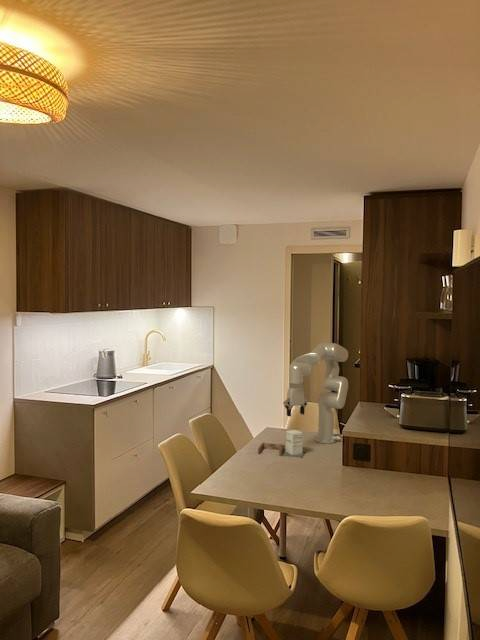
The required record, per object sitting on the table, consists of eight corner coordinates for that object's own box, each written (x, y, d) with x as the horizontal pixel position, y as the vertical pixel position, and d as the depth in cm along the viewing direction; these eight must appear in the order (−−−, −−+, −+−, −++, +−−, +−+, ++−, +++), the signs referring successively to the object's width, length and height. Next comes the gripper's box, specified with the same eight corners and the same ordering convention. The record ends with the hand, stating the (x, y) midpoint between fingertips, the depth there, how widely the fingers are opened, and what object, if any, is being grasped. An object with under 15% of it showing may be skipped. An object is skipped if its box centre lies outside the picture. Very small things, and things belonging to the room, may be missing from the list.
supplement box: (285, 452, 312) (285, 430, 311) (295, 450, 315) (296, 429, 314) (291, 455, 305) (292, 433, 304) (302, 454, 308) (303, 432, 308)
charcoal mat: (304, 452, 314) (304, 451, 314) (302, 457, 303) (302, 456, 303) (286, 450, 317) (286, 449, 317) (283, 455, 306) (283, 454, 306)
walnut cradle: (284, 449, 318) (284, 444, 318) (281, 456, 305) (281, 450, 305) (262, 447, 321) (262, 442, 321) (257, 453, 309) (257, 448, 308)
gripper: (303, 383, 316) (303, 412, 317) (280, 386, 307) (279, 415, 308) (311, 385, 310) (311, 414, 311) (287, 388, 301) (287, 418, 302)
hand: (295, 415), depth 309 cm, fingers open, 9 cm apart
